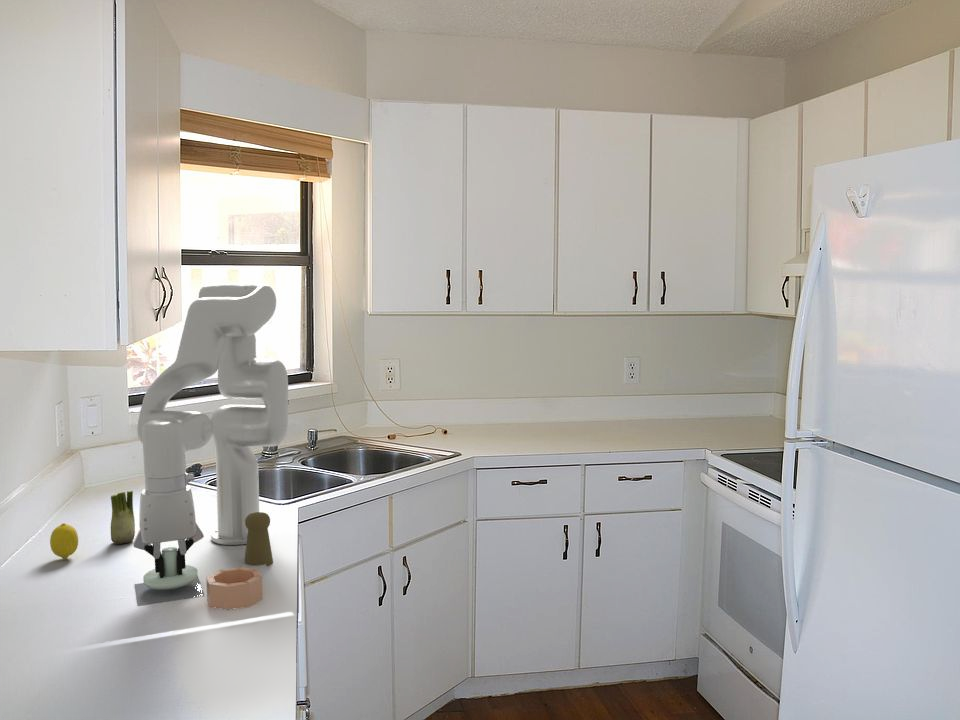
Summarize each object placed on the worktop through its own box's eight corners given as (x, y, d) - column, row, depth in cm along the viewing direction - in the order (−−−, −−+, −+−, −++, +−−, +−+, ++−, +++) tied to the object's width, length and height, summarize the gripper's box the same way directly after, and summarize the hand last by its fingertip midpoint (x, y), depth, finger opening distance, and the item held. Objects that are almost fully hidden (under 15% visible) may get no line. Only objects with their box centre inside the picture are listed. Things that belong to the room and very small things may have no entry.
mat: (134, 587, 168) (134, 584, 168) (197, 578, 173) (197, 575, 173) (137, 608, 157) (137, 605, 157) (204, 598, 162) (204, 595, 162)
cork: (244, 569, 178) (242, 518, 177) (244, 559, 184) (242, 510, 183) (273, 566, 180) (272, 516, 179) (272, 557, 186) (271, 508, 185)
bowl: (205, 597, 163) (204, 571, 162) (256, 589, 167) (255, 564, 166) (211, 615, 154) (211, 588, 154) (265, 606, 158) (264, 581, 158)
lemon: (71, 553, 188) (70, 518, 187) (83, 558, 185) (82, 522, 184) (46, 559, 184) (44, 523, 183) (58, 565, 180) (56, 528, 180)
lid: (141, 574, 168) (140, 545, 167) (194, 566, 172) (193, 537, 171) (145, 592, 159) (143, 562, 158) (200, 583, 163) (199, 554, 162)
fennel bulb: (133, 537, 199) (131, 488, 198) (139, 543, 195) (137, 492, 194) (107, 542, 196) (105, 491, 195) (112, 547, 192) (110, 496, 191)
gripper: (207, 473, 170) (211, 561, 172) (119, 483, 163) (125, 574, 166) (212, 483, 163) (216, 574, 166) (121, 493, 156) (126, 588, 159)
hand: (170, 573), depth 166 cm, fingers closed on lid, 2 cm apart
